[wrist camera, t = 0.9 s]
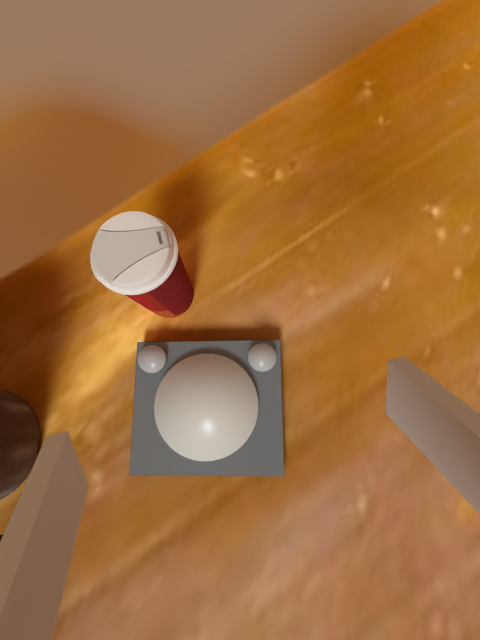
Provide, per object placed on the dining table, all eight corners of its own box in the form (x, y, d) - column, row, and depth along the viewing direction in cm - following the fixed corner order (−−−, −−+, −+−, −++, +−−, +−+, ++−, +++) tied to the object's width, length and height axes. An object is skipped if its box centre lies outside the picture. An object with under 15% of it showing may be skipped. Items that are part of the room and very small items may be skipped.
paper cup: (192, 258, 46) (161, 194, 32) (209, 315, 44) (185, 273, 30) (132, 277, 46) (75, 222, 32) (147, 335, 44) (93, 302, 30)
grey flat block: (279, 343, 42) (280, 338, 40) (283, 472, 39) (284, 478, 36) (143, 345, 43) (134, 340, 41) (135, 472, 40) (125, 477, 37)
